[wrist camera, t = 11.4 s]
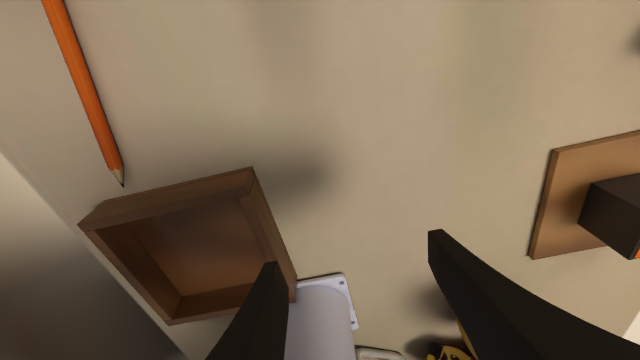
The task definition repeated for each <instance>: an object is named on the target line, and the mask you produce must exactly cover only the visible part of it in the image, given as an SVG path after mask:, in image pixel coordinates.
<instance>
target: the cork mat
mask: <svg viewBox="0 0 640 360" xmlns="http://www.w3.org/2000/svg"><path fill="white" fill-rule="evenodd" d="M636 173H640V131H636V132H631V133H627V134H622V135H618V136H613V137H608V138H604V139H599V140H595V141H590V142H585V143H581V144H576V145H572V146H567V147H562V148H558V149H554V150H553V153H552V157H551V162H550V166H549V170H548V174H547V179H546V183H545V187H544V191H543V195H542V200H541V204H540V208H539V212H538V216H537V221H536V225H535V229H534V233H533V237H532V242H531V246H530V250H529V254H528V256H529V257H530V258H531V259H532V260H535V259H540V258H545V257H551V256H556V255H561V254H567V253H572V252H577V251H583V250H588V249H593V248H598V247H604V246H608V245H606V244H605V243H604V242H602V241H601V240H599V239H598V238H597V237H595V236H594V235H592V234H591V233H589V232H588V231H587V230H585V229H584V228H582V227H581V226H580V225H578V224H577V222H578V219H579V216H580V213H581V210H582V207H583V204H584V202H585V199H586V196H587V193H588V190H589V187H590V184H591V183H592V182H597V181H602V180H607V179H611V178H616V177H621V176H626V175H631V174H636Z"/></svg>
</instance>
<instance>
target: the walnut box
mask: <svg viewBox="0 0 640 360" xmlns="http://www.w3.org/2000/svg"><path fill="white" fill-rule="evenodd" d="M77 225H78V227H79V228H80V229H81V230H82V231H83V232H84V233H85V234H86V236H87V237H88V238H89V239H90V240H91V241H92V242H93V243H94V244H95V245H96V247H97V248H98V249H99V250H100V251H101V252H102V253H103V254H104V255H105V257H106V258H107V259H108V260H109V261H110V262H111V263H112V264H113V265H114V266H115V268H116V269H117V270H118V271H119V272H120V273H121V274H122V275H123V276H124V277H125V279H126V280H127V281H128V282H129V283H130V284H131V285H132V286H133V287H134V289H135V290H136V291H137V292H138V293H139V294H140V295H141V296H142V297H143V298H144V300H145V301H146V302H147V303H148V304H149V305H150V306H151V307H152V308H153V310H154V311H155V312H156V313H157V314H158V315H159V316H160V317H161V318H162V319H163V321H164V322H165V323H166V324H167V325H168V326H172V325H177V324H183V323H188V322H193V321H198V320H204V319H209V318H214V317H220V316H225V315H230V314H236V313H237V312H238V311H239V309H240V307H241V306H242V304H243V302H244V300H245V298H246V297H247V295H248V293H249V291H250V290H251V288H252V286H253V284H254V282H255V280H256V278H257V276H258V274H259V272H260V270H261V268H262V266H263V265H264V263H265V262H271V261H276V260H277V261H278V264H279V266H280V268H281V271H282V273H283V275H284V278H285V280H286V282H287V285H288V287H289V303H294V302H296V291H297V274H296V272H295V269H294V267H293V264H292V262H291V260H290V257H289V255H288V252H287V250H286V247H285V245H284V242H283V240H282V238H281V235H280V233H279V230H278V228H277V225H276V223H275V220H274V218H273V215H272V213H271V211H270V208H269V206H268V203H267V201H266V198H265V196H264V193H263V191H262V189H261V186H260V184H259V181H258V179H257V176H256V174H255V171H254V169H253V167H248V168H244V169H240V170H235V171H231V172H227V173H222V174H218V175H214V176H209V177H205V178H201V179H197V180H192V181H188V182H184V183H179V184H175V185H171V186H167V187H162V188H158V189H154V190H149V191H145V192H141V193H136V194H132V195H128V196H124V197H119V198H115V199H111V200H106V201H104V202H103V203H101V205H99V206H98V207H97V208H96V209H95V210H93V211H92V212H91V213H90V214H88V215H87V216H86V217H85V218H84V219H82V220H81V221H80V222H79V223H78V224H77Z"/></svg>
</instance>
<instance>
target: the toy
mask: <svg viewBox="0 0 640 360" xmlns="http://www.w3.org/2000/svg"><path fill="white" fill-rule="evenodd" d="M426 360H477V359H476V358H475V357H474V356H473V357H471V358H470V357H469V356H468V355H467V354H465V353H464V352H462V351H461V350H459V349H457V348H454V347H451V346H441V345H439V344H436V343H432V345H431V347H430V350H429V354H428V356H427V359H426Z"/></svg>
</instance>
